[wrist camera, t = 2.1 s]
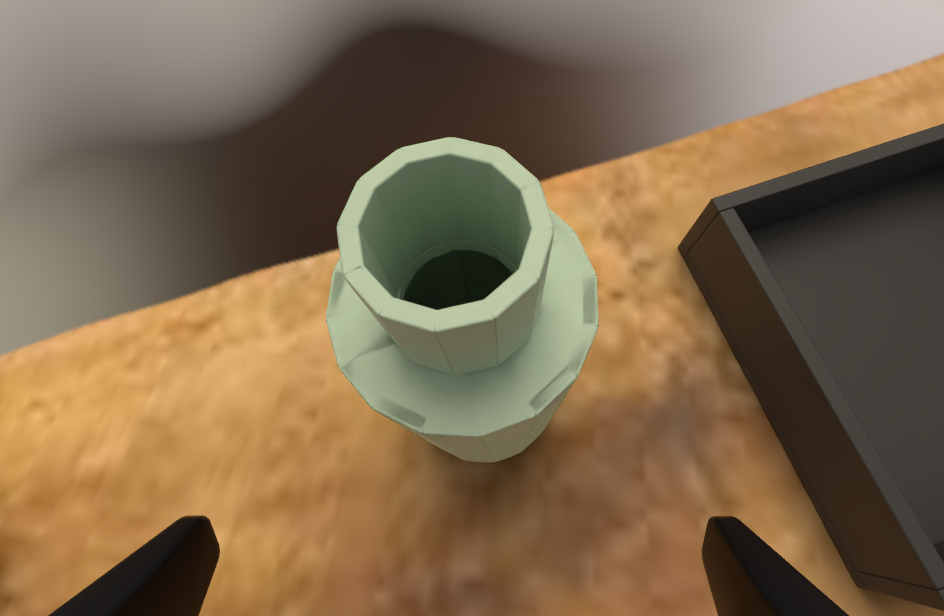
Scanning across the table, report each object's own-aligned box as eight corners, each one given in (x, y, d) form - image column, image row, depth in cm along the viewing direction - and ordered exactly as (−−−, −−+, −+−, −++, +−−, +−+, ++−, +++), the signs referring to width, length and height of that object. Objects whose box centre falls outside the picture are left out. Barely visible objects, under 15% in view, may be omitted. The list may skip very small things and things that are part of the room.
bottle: (581, 395, 20) (714, 231, 7) (478, 493, 19) (420, 507, 6) (488, 300, 22) (459, 29, 9) (389, 387, 21) (195, 222, 8)
